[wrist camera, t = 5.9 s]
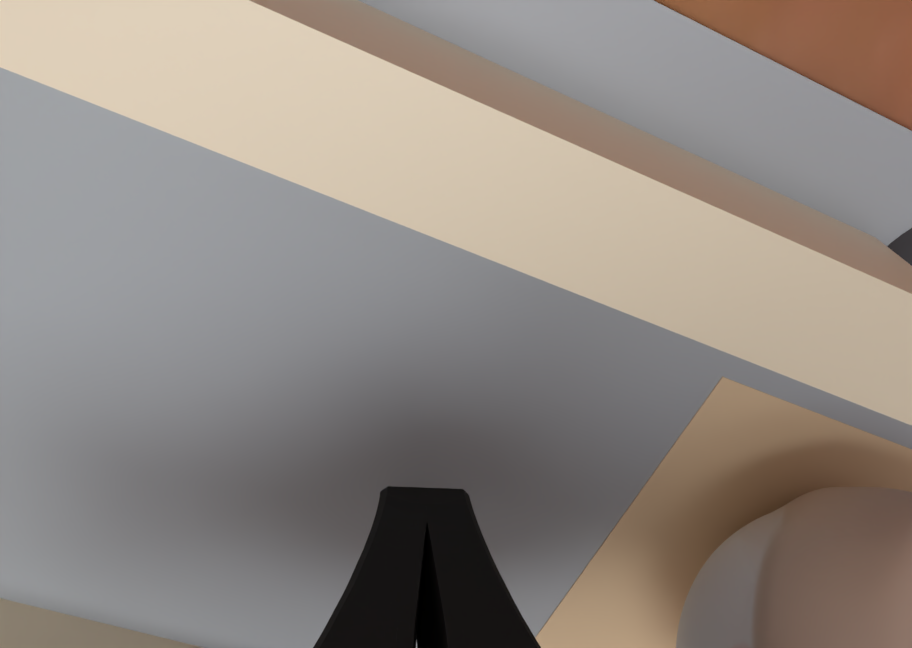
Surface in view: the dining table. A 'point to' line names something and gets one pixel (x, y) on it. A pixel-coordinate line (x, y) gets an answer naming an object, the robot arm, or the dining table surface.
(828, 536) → the garlic bulb
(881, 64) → the dining table surface
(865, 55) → the dining table surface
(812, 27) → the dining table surface
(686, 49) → the cubby board
